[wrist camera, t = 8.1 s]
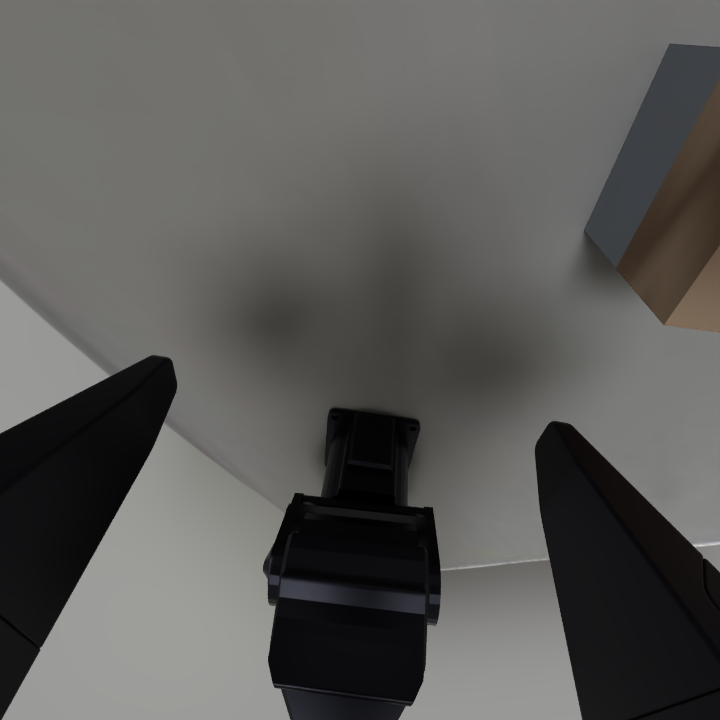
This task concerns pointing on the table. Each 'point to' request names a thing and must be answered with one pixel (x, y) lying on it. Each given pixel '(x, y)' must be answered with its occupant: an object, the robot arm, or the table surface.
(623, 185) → the charcoal block
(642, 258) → the walnut block
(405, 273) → the table surface
